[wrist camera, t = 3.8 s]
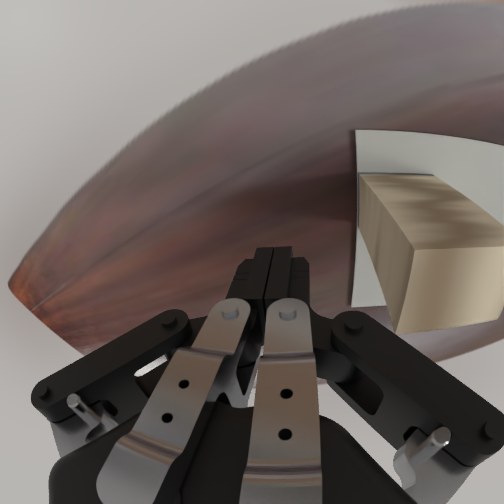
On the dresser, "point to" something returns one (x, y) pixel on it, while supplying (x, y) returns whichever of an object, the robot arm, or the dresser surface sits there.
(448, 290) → the maple block
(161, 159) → the dresser surface
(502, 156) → the felt mat
